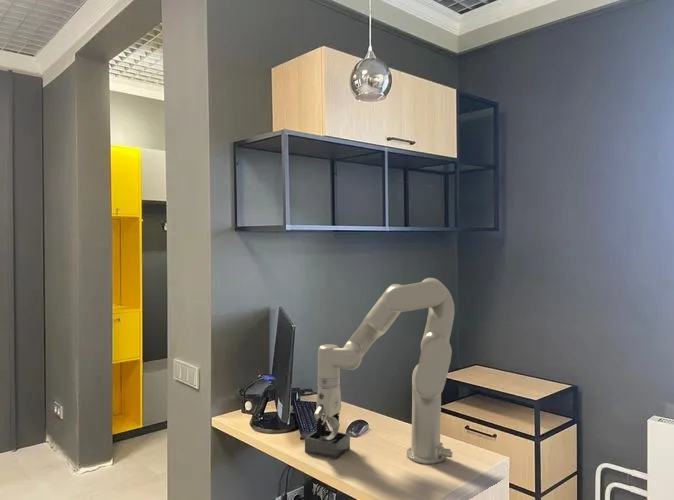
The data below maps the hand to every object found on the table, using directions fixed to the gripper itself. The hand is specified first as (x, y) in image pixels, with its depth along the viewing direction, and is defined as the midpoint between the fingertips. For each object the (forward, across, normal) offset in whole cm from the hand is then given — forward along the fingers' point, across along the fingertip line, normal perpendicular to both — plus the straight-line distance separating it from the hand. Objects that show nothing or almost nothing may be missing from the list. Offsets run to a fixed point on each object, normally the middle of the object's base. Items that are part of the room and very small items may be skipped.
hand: (327, 430), depth 177 cm
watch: (+6, 0, 0) cm, 6 cm away
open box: (+7, 0, 0) cm, 7 cm away
